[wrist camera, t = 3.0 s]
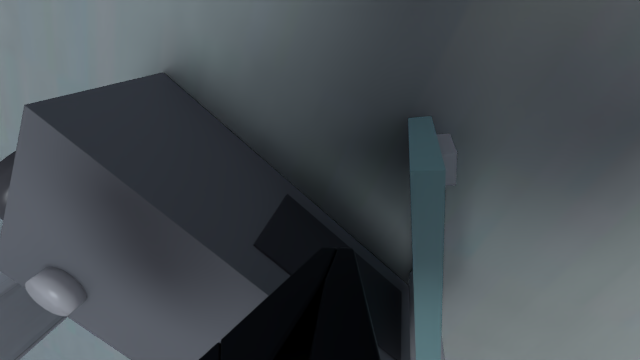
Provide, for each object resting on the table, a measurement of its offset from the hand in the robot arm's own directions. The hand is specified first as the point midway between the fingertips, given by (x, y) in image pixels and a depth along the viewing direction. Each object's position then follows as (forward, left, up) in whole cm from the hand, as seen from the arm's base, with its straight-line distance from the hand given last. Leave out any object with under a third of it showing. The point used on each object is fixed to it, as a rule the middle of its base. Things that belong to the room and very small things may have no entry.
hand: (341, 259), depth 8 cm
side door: (-3, 0, -5) cm, 6 cm away
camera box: (+1, +8, -6) cm, 10 cm away
